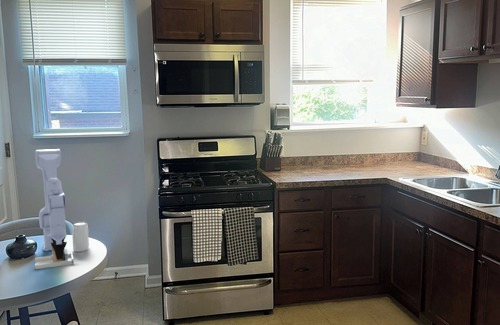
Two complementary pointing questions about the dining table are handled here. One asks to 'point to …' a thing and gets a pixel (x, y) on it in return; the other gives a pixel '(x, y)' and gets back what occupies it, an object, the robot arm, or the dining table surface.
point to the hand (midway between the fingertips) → (59, 256)
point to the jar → (55, 256)
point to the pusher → (66, 254)
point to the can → (80, 236)
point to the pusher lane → (48, 261)
